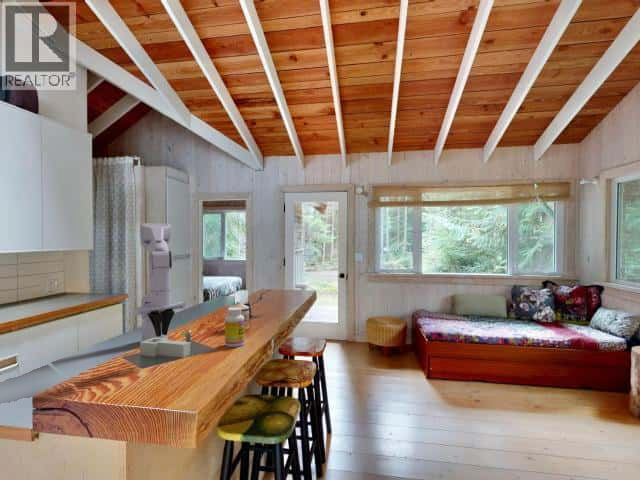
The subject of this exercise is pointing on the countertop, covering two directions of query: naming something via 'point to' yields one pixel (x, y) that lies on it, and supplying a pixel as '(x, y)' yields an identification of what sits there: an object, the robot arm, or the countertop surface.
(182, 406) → the countertop surface
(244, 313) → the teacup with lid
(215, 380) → the countertop surface
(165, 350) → the link
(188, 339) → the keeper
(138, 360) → the base plate
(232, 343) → the supplement bottle
